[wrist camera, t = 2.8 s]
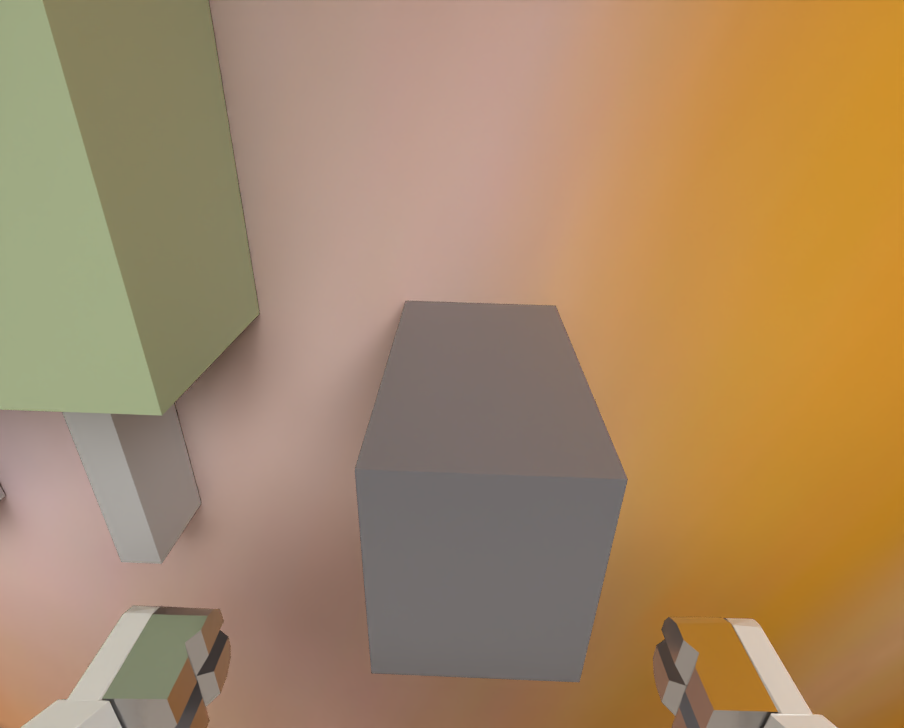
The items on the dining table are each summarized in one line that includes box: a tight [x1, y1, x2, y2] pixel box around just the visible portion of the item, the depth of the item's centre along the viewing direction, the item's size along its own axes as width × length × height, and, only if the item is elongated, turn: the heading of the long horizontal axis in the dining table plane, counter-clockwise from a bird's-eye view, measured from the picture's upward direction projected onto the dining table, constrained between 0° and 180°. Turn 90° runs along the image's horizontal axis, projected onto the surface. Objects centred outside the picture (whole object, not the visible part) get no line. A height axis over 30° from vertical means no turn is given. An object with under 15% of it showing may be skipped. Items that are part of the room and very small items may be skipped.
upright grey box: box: [355, 301, 628, 682], centre depth 12 cm, size 4×7×7 cm, turn 179°
